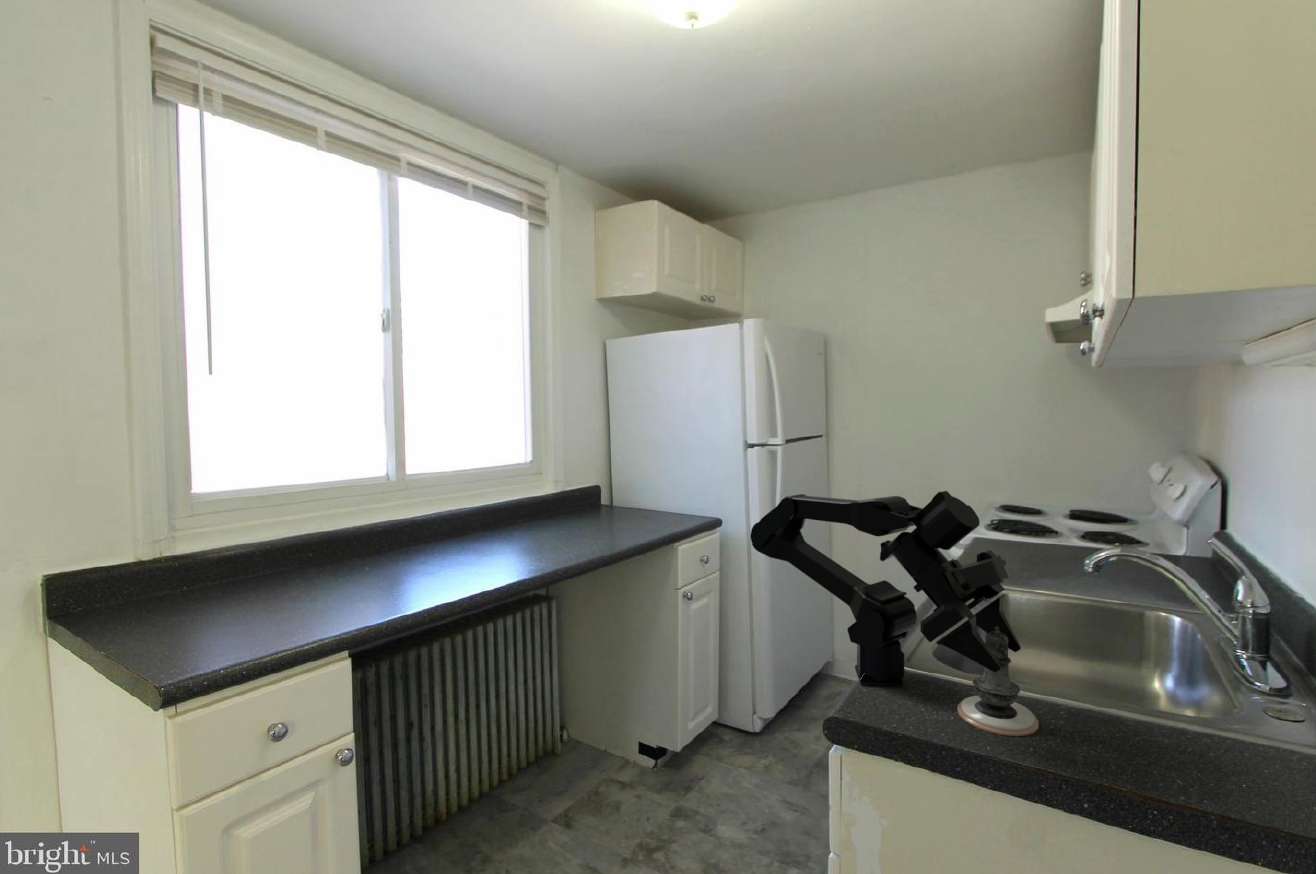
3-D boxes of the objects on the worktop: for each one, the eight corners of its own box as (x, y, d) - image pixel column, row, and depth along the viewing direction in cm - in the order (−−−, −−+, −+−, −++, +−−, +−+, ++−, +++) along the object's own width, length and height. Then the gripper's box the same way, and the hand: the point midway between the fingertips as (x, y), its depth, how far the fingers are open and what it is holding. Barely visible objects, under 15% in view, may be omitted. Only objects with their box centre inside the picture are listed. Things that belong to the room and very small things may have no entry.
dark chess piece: (978, 717, 86) (979, 631, 86) (967, 698, 92) (968, 617, 91) (1025, 722, 85) (1027, 634, 84) (1012, 702, 90) (1013, 620, 90)
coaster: (970, 733, 84) (970, 726, 84) (948, 698, 94) (948, 692, 94) (1051, 738, 82) (1052, 731, 82) (1020, 703, 92) (1021, 696, 92)
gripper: (944, 545, 83) (1038, 650, 76) (990, 525, 96) (1073, 612, 89) (886, 592, 89) (968, 693, 82) (937, 567, 102) (1011, 651, 95)
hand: (1008, 660), depth 87 cm, fingers open, 9 cm apart
